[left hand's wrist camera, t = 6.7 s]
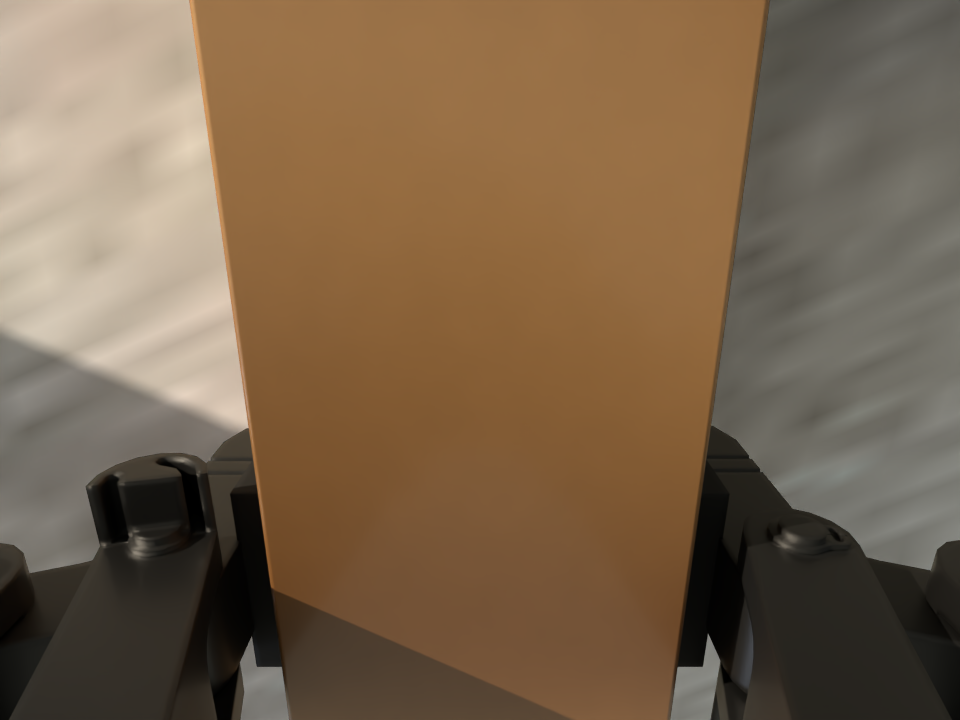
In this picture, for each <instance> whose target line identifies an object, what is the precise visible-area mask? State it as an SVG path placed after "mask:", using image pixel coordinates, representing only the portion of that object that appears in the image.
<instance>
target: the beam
mask: <svg viewBox="0 0 960 720" xmlns="http://www.w3.org/2000/svg"><path fill="white" fill-rule="evenodd" d="M189 1H190V9H191V16H192V23H193V30H194V37H195V45H196V52H197V59H198V66H199V73H200V81H201V88H202V95H203V102H204V109H205V117H206V124H207V131H208V138H209V145H210V153H211V160H212V167H213V174H214V181H215V188H216V196H217V203H218V210H219V217H220V224H221V232H222V239H223V246H224V253H225V260H226V268H227V275H228V282H229V289H230V296H231V304H232V311H233V318H234V325H235V332H236V340H237V347H238V354H239V361H240V368H241V376H242V383H243V390H244V397H245V404H246V411H247V419H248V426H249V433H250V440H251V447H252V455H253V462H254V469H255V476H256V483H257V491H258V498H259V505H260V512H261V519H262V527H263V534H264V541H265V548H266V555H267V563H268V570H269V577H270V584H271V591H272V599H273V606H274V613H275V620H276V627H277V635H278V642H279V649H280V656H281V663H282V670H283V678H284V685H285V692H286V699H287V706H288V714H289V720H670V717H671V710H672V703H673V695H674V688H675V681H676V674H677V667H678V659H679V652H680V645H681V638H682V631H683V623H684V616H685V609H686V602H687V595H688V587H689V580H690V573H691V566H692V559H693V551H694V544H695V537H696V530H697V523H698V515H699V508H700V501H701V494H702V486H703V479H704V472H705V465H706V458H707V450H708V443H709V436H710V429H711V422H712V414H713V407H714V400H715V393H716V386H717V378H718V371H719V364H720V357H721V350H722V342H723V335H724V328H725V321H726V314H727V306H728V299H729V292H730V285H731V278H732V270H733V263H734V256H735V249H736V242H737V234H738V227H739V220H740V213H741V206H742V198H743V191H744V184H745V177H746V169H747V162H748V155H749V148H750V141H751V133H752V126H753V119H754V112H755V105H756V97H757V90H758V83H759V76H760V69H761V61H762V54H763V47H764V40H765V33H766V25H767V18H768V11H769V4H770V0H189Z"/></svg>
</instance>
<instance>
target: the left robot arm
mask: <svg viewBox="0 0 960 720" xmlns="http://www.w3.org/2000/svg"><path fill="white" fill-rule="evenodd" d="M86 490H87V494H88V498H89V502H90V506H91V510H92V514H93V518H94V522H95V526H96V531H97V535H98V539H99V543H100V548H99V550H98V552H97V554H96V555H95V557H94V559H93V561H89V562H85V563H81V564H76V565H71V566H65V567H60V568H55V569H50V570H45V571H40V572H35V573H29V571H28V567H27V564H26V560H25V557H24V554H23V552H22V551H20V550H19V549H18V548H17V547H15V546H14V545H9V544H2V543H0V720H240V718H241V711H242V703H243V696H244V687H243V679H242V673H241V667H240V661H241V658H242V656H243V654H244V652H245V650H246V647H247V645H248V643H249V641H250V638H251V636H252V639H253V645H254V651H255V658H256V664H257V667H282V663H281V656H280V649H279V642H278V635H277V627H276V620H275V613H274V606H273V599H272V591H271V584H270V577H269V570H268V563H267V555H266V548H265V541H264V534H263V527H262V519H261V512H260V505H259V498H258V491H257V483H256V476H255V469H254V462H253V455H252V447H251V440H250V433H249V428H247V429H245V430H243V431H242V432H240V433H238V434H237V435H235V436H233V437H232V438H230V439H228V440H227V441H225V442H224V443H223V444H222V445H221V446H220V448H219V449H218V450H217V451H216V452H215V454H214V455H213V456H212V457H211V461H208V462H207V464H206V463H205V462H204V461H202V460H201V459H200V458H198V457H197V456H192V455H188V454H183V453H160V454H155V455H149V456H144V457H138V458H135V459H132V460H129V461H126V462H123V463H120V464H117V465H115V466H113V467H111V468H110V469H108V470H106V471H104V472H102V473H100V474H99V475H97V476H96V477H95V478H94V479H93V480H92V481H91V482H90V483H89V484H88V485H87V486H86ZM708 634H709V636H710V638H711V640H712V643H713V645H714V647H715V649H716V652H717V654H718V656H719V658H720V660H721V661H720V667H719V673H718V679H717V685H716V691H715V697H714V703H713V709H712V715H711V720H960V540H958V541H951V542H946V543H945V544H944V545H942V546H941V547H940V548H939V549H937V552H936V555H935V559H934V562H933V565H932V569H931V570H925V569H920V568H915V567H910V566H905V565H899V564H894V563H889V562H884V561H879V560H875V559H871V558H867V557H866V556H865V554H864V552H863V550H862V549H861V547H860V545H859V544H858V543H857V542H856V540H855V539H854V538H853V537H852V536H851V534H850V533H849V532H847V531H846V530H844V529H843V528H841V527H840V526H838V525H836V524H835V523H833V522H832V521H830V520H827V519H825V518H822V517H820V516H817V515H815V514H812V513H809V512H804V511H799V510H795V509H792V508H791V506H790V505H789V504H788V503H787V501H786V500H785V499H784V498H783V497H782V495H781V494H780V493H779V492H778V490H777V489H776V488H775V487H774V486H773V484H772V483H771V482H770V481H769V480H768V478H767V477H766V476H765V475H764V473H763V472H760V469H759V467H758V466H757V465H756V464H755V462H754V461H753V460H752V459H749V455H748V454H747V453H746V451H745V450H744V449H743V448H742V447H741V445H740V444H739V443H738V442H737V440H735V439H734V438H732V437H730V436H729V435H727V434H725V433H724V432H722V431H720V430H719V429H717V428H715V427H714V426H711V429H710V436H709V443H708V450H707V458H706V465H705V472H704V479H703V486H702V494H701V501H700V508H699V515H698V523H697V530H696V537H695V544H694V551H693V559H692V566H691V573H690V580H689V587H688V595H687V602H686V609H685V616H684V623H683V631H682V638H681V645H680V652H679V659H678V667H703V662H704V655H705V649H706V642H707V636H708Z"/></svg>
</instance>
